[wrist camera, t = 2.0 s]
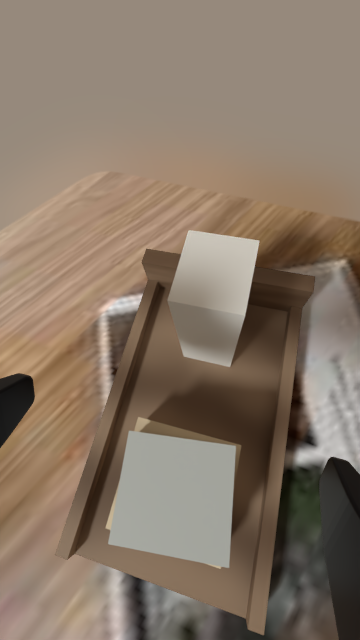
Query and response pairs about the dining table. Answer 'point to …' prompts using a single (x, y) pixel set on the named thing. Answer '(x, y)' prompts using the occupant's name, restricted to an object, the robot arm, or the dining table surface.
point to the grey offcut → (175, 498)
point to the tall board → (212, 294)
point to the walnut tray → (207, 419)
